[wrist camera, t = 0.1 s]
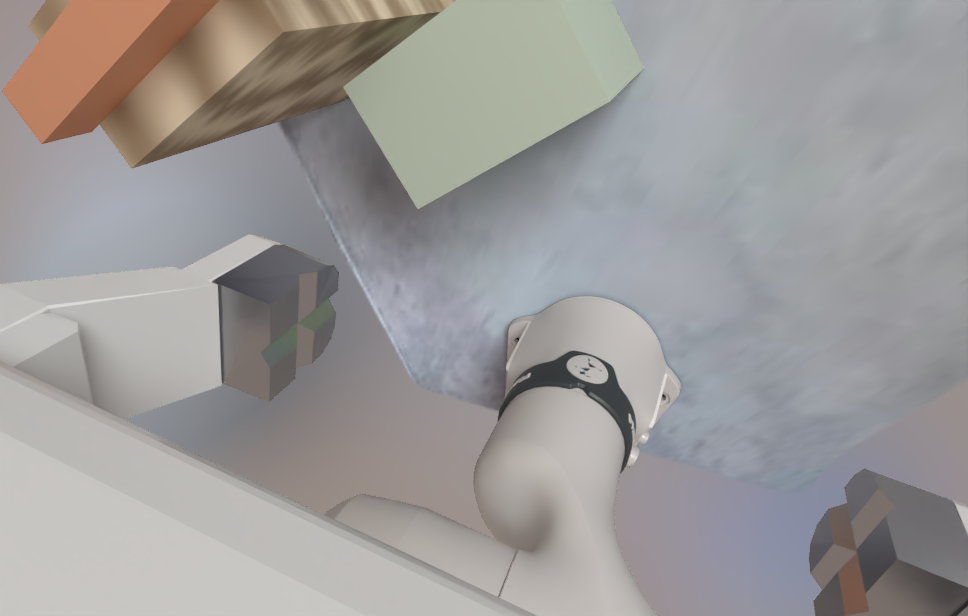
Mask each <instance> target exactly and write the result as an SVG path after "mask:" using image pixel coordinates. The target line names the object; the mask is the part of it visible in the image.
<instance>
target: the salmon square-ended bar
mask: <svg viewBox="0 0 968 616" xmlns="http://www.w3.org/2000/svg"><path fill="white" fill-rule="evenodd" d="M218 1H219V0H71V1H70V2H69V4H68V5H67V6H66V8H65V9H64V10H63V11H62V13H61V14H60V15H59V17H58V18H57V19H56V21H55V22H54V23H53V25H52V26H51V27H50V29H49V30H48V31H47V33H46V34H45V35H44V36H43V38H42V39H41V40H40V42H39V43H38V44H37V46H36V47H35V48H34V50H33V51H32V52H31V54H30V55H29V56H28V58H27V59H26V60H25V61H24V63H23V64H22V65H21V67H20V68H19V69H18V71H17V72H16V73H15V75H14V76H13V77H12V79H11V80H10V81H9V83H8V84H7V85H6V87H5V88H4V89H3V91H2V92H3V93H4V95H5V96H6V97H7V99H8V100H9V101H10V103H11V104H12V105H13V107H14V108H15V109H16V111H17V112H18V113H19V115H20V116H21V117H22V119H23V120H24V121H25V123H26V124H27V125H28V127H29V128H30V129H31V130H32V132H33V133H34V134H35V136H36V137H37V138H38V140H39V141H40V142H41V144H43V143H48V142H52V141H56V140H60V139H64V138H68V137H72V136H76V135H81V134H85V133H89V132H92V131H93V130H94V129H95V128H96V127H97V126H98V125H99V124H100V123H101V122H102V121H103V120H104V119H105V118H106V117H107V116H108V115H109V114H110V113H111V112H112V111H113V109H114V108H115V107H116V106H117V105H118V104H119V103H120V102H121V101H122V100H123V99H124V98H125V97H126V96H127V95H128V94H129V93H130V92H131V91H132V90H133V89H134V88H135V87H136V86H137V85H138V84H139V83H140V82H141V81H142V80H143V79H144V78H145V77H146V75H147V74H148V73H149V72H150V71H151V70H152V69H153V68H154V67H155V66H156V65H157V64H158V63H159V62H160V61H161V60H162V59H163V58H164V57H165V56H166V55H167V54H168V53H169V52H170V51H171V50H172V49H173V48H174V47H175V46H176V45H177V44H178V43H179V41H180V40H181V39H182V38H183V37H184V36H185V35H186V34H187V33H188V32H189V31H190V30H191V29H192V28H193V27H194V26H195V25H196V24H197V23H198V22H199V21H200V20H201V19H202V18H203V17H204V16H205V15H206V14H207V13H208V12H209V11H210V10H211V9H212V7H213V6H214V5H215V4H216V3H217V2H218Z"/></svg>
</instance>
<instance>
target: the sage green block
mask: <svg viewBox="0 0 968 616" xmlns="http://www.w3.org/2000/svg"><path fill="white" fill-rule="evenodd" d="M643 69H644V67H643V65H642V63H641V61H640V59H639V57H638V55H637V53H636V51H635V49H634V46H633V44H632V42H631V40H630V38H629V36H628V34H627V32H626V30H625V28H624V25H623V23H622V21H621V19H620V17H619V15H618V13H617V11H616V9H615V7H614V5H613V2H612V0H456V1H455V2H453V3H452V4H451V5H449V6H448V7H447V8H445V9H444V10H443V11H442V12H440V13H439V14H438V15H436V16H435V17H434V18H432V19H431V20H430V21H428V22H427V23H426V24H425V25H423V26H422V27H421V28H419V29H418V30H417V31H415V32H414V33H413V34H412V35H410V36H409V37H408V38H406V39H405V40H404V41H402V42H401V43H400V44H398V45H397V46H396V47H395V48H393V49H392V50H391V51H389V52H388V53H387V54H385V55H384V56H383V57H381V58H380V59H379V60H378V61H376V62H375V63H374V64H372V65H371V66H370V67H368V68H367V69H366V70H364V71H363V72H362V73H361V74H359V75H358V76H357V77H355V78H354V79H353V80H351V81H350V82H349V83H348V84H346V85H345V86H344V87H343V88H344V89H345V91H346V93H347V94H348V96H349V98H350V99H351V101H352V103H353V104H354V106H355V107H356V109H357V111H358V112H359V114H360V116H361V117H362V119H363V121H364V122H365V124H366V125H367V127H368V129H369V130H370V132H371V134H372V135H373V137H374V139H375V140H376V142H377V143H378V145H379V147H380V148H381V150H382V152H383V153H384V155H385V157H386V158H387V160H388V162H389V163H390V165H391V166H392V168H393V170H394V171H395V173H396V175H397V176H398V178H399V180H400V181H401V183H402V184H403V186H404V188H405V189H406V191H407V193H408V194H409V196H410V198H411V199H412V201H413V203H414V204H415V206H416V207H417V209H420V208H421V207H423V206H425V205H427V204H429V203H430V202H432V201H434V200H436V199H437V198H439V197H441V196H443V195H445V194H446V193H448V192H450V191H452V190H453V189H455V188H457V187H459V186H461V185H462V184H464V183H466V182H468V181H469V180H471V179H473V178H475V177H477V176H478V175H480V174H482V173H484V172H485V171H487V170H489V169H491V168H493V167H494V166H496V165H498V164H500V163H501V162H503V161H505V160H507V159H509V158H510V157H512V156H514V155H516V154H518V153H519V152H521V151H523V150H525V149H526V148H528V147H530V146H532V145H534V144H535V143H537V142H539V141H541V140H542V139H544V138H546V137H548V136H550V135H551V134H553V133H555V132H557V131H558V130H560V129H562V128H564V127H566V126H567V125H569V124H571V123H573V122H574V121H576V120H578V119H580V118H582V117H583V116H585V115H587V114H589V113H590V112H592V111H594V110H596V109H598V108H599V107H601V106H603V105H605V104H606V103H608V102H610V101H611V100H612V99H613V98H614V97H615V96H616V95H617V94H618V93H619V92H620V91H621V90H622V89H623V88H624V87H625V86H626V85H627V84H628V83H629V82H630V81H631V80H632V79H634V78H635V77H636V76H637V75H638V74H639V73H640V72H641V71H642V70H643Z"/></svg>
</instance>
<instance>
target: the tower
mask: <svg viewBox="0 0 968 616" xmlns="http://www.w3.org/2000/svg"><path fill="white" fill-rule="evenodd" d="M70 1H71V0H46V2H45V3H44V4H43V6H42V7H41V9H40V10H39V11H38V13H37V14H36V15H35V17H34V18H33V20H32V21H31V22H30V24H29V25H28V26H29V28H30V29H31V30H32V32H33V33H34V35H35V36H36V37H37V39H38V40H39V41H40V40H41V39H42V38H43V36H44V35H45V34H46V33H47V31H48V30H49V29H50V27H51V26H52V25H53V23H54V22H55V21H56V19H57V18H58V17H59V15H60V14H61V13H62V11H63V10H64V9H65V8H66V6H67V5H68V4H69V2H70ZM455 1H456V0H219V1H218V2H217V3H216V4H215V5H214V6H213V7H212V9H211V10H210V11H209V12H208V13H207V14H206V15H205V16H204V17H203V18H202V19H201V20H200V21H199V22H198V23H197V24H196V25H195V26H194V27H193V28H192V29H191V30H190V31H189V32H188V33H187V34H186V35H185V36H184V37H183V38H182V39H181V40H180V41H179V43H178V44H177V45H176V46H175V47H174V48H173V49H172V50H171V51H170V52H169V53H168V54H167V55H166V56H165V57H164V58H163V59H162V60H161V61H160V62H159V63H158V64H157V65H156V66H155V67H154V68H153V69H152V70H151V71H150V72H149V73H148V74H147V75H146V77H145V78H144V79H143V80H142V81H141V82H140V83H139V84H138V85H137V86H136V87H135V88H134V89H133V90H132V91H131V92H130V93H129V94H128V95H127V96H126V97H125V98H124V99H123V100H122V101H121V102H120V103H119V104H118V105H117V106H116V107H115V108H114V109H113V111H112V112H111V113H110V114H109V115H108V116H107V117H106V118H105V119H104V120H103V121H102V122H101V123H100V126H101V127H102V128H103V130H104V131H105V132H106V134H107V135H108V136H109V138H110V139H111V141H112V142H113V143H114V145H115V146H116V147H117V149H118V150H119V152H120V153H121V154H122V156H123V157H124V159H125V160H126V161H127V163H128V164H129V165H130V167H131V168H135V167H138V166H141V165H144V164H147V163H150V162H154V161H157V160H160V159H163V158H166V157H169V156H172V155H175V154H178V153H182V152H185V151H188V150H191V149H194V148H197V147H200V146H203V145H207V144H210V143H213V142H216V141H219V140H222V139H225V138H228V137H232V136H235V135H238V134H241V133H244V132H247V131H250V130H253V129H257V128H260V127H263V126H266V125H269V124H272V123H275V122H278V121H282V120H285V119H288V118H291V117H294V116H297V115H300V114H303V113H306V112H310V111H313V110H316V109H319V108H322V107H325V106H328V105H331V104H335V103H338V102H341V101H343V100H345V99H346V98H347V97H349V96H348V94H347V93H346V91H345V89H344V88H343V87H344V86H345V85H346V84H348V83H349V82H350V81H351V80H353V79H354V78H355V77H357V76H358V75H359V74H361V73H362V72H363V71H364V70H366V69H367V68H368V67H370V66H371V65H372V64H374V63H375V62H376V61H378V60H379V59H380V58H381V57H383V56H384V55H385V54H387V53H388V52H389V51H391V50H392V49H393V48H395V47H396V46H397V45H398V44H400V43H401V42H402V41H404V40H405V39H406V38H408V37H409V36H410V35H412V34H413V33H414V32H415V31H417V30H418V29H419V28H421V27H422V26H423V25H425V24H426V23H427V22H428V21H430V20H431V19H432V18H434V17H435V16H436V15H438V14H439V13H440V12H442V11H443V10H444V9H445V8H447V7H448V6H449V5H451V4H452V3H453V2H455Z"/></svg>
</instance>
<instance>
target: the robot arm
mask: <svg viewBox="0 0 968 616" xmlns="http://www.w3.org/2000/svg"><path fill="white" fill-rule="evenodd" d="M338 276H339V272H338V271H337V269H336V267H335V266H334V265H332V264H329V263H327V262H325V261H322V260H320V259H317V258H315V257H312V256H310V255H307V254H305V253H303V252H300V251H298V250H295V249H293V248H290V247H288V246H285V245H281V244H280V243H278V242H275V241H273V240H270V239H267V238H265V237H262V236H259V235H253V234H249V235H247V236H245V237H243V238H241V239H239V240H237V241H235V242H233V243H231V244H229V245H227V246H226V247H224V248H222V249H220V250H218V251H216V252H214V253H212V254H210V255H208V256H206V257H204V258H203V259H201V260H199V261H197V262H195V263H193V264H191V265H189V266H187V267H185V268H183V269H181V270H180V269H178V268H175V267H163V268H153V269H144V270H134V271H125V272H115V273H105V274H95V275H86V276H76V277H66V278H56V279H47V280H37V281H28V282H18V283H8V284H0V616H659V615H658V614H657V613H656V611H655V610H654V609H653V607H652V606H651V605H650V603H649V602H648V600H647V599H646V597H645V596H644V594H643V593H642V591H641V590H640V588H639V586H638V584H637V582H636V581H635V579H634V577H633V575H632V573H631V571H630V569H629V567H628V565H627V562H626V560H625V557H624V555H623V552H622V550H621V547H620V544H619V541H618V537H617V533H616V529H615V522H614V512H615V501H616V494H617V486H618V482H619V477H620V474H621V472H622V471H623V470H624V468H625V467H629V468H630V467H631V466H632V465H633V464H634V462H635V461H636V459H637V456H638V454H639V449H638V447H636V446H637V444H638V443H639V444H641V445H644V444H645V443H646V441H647V440H648V438H649V433H648V431H649V430H650V429H651V428H652V427H653V425H654V424H655V423H656V422H657V421H658V419H659V418H660V417H661V416H662V415H663V414H664V412H665V411H666V410H667V409H668V408H669V406H670V405H671V404H672V403H673V402H674V401H675V399H676V398H677V397H678V395H679V393H680V390H681V383H680V381H679V380H678V378H677V377H676V375H675V374H674V373H673V372H672V370H671V369H670V368H669V367H668V366H667V364H666V362H665V360H664V357H663V353H662V349H661V346H660V343H659V341H658V339H657V337H656V335H655V333H654V332H653V330H652V329H651V328H650V326H649V325H648V324H647V323H646V322H645V321H644V320H643V319H642V318H641V317H640V316H639V315H638V314H636V313H635V312H633V311H632V310H630V309H629V308H627V307H625V306H623V305H621V304H619V303H617V302H614V301H611V300H608V299H604V298H599V297H591V296H581V297H572V298H568V299H564V300H561V301H559V302H557V303H555V304H553V305H551V306H549V307H548V308H546V309H545V310H543V311H542V312H540V313H538V314H536V315H532V316H526V317H521V318H517V319H515V320H513V321H512V322H511V324H510V327H509V330H508V346H507V365H506V387H505V397H504V399H503V404H502V406H501V408H500V411H499V416H498V423H497V425H496V427H495V429H494V430H493V432H492V434H491V436H490V438H489V440H488V442H487V443H486V445H485V447H484V449H483V451H482V453H481V454H480V457H479V458H478V460H477V463H476V466H475V471H474V491H475V495H476V500H477V504H478V507H479V510H480V513H481V516H482V518H483V520H484V522H485V524H486V525H487V527H488V529H489V530H490V531H491V533H492V534H493V535H494V537H495V538H496V539H497V540H498V541H497V540H495V539H493V538H491V537H489V536H486V535H484V534H482V533H479V532H477V531H475V530H473V529H471V528H469V527H467V526H465V525H462V524H460V523H458V522H456V521H454V520H452V519H449V518H447V517H445V516H442V515H441V514H438V513H436V512H434V511H432V510H430V509H427V508H424V507H420V506H416V505H412V504H408V503H404V502H400V501H396V500H391V499H386V498H381V497H376V496H371V495H366V494H360V495H356V496H354V497H351V498H349V499H347V500H345V501H343V502H341V503H339V504H337V505H336V506H335V507H333V508H332V509H330V510H329V511H327V512H326V513H325V514H322V513H320V512H317V511H315V510H313V509H311V508H309V507H307V506H305V505H303V504H301V503H299V502H296V501H294V500H292V499H290V498H288V497H286V496H284V495H281V494H279V493H277V492H275V491H273V490H271V489H269V488H267V487H265V486H263V485H260V484H258V483H256V482H254V481H252V480H250V479H248V478H246V477H243V476H241V475H239V474H237V473H235V472H233V471H231V470H229V469H227V468H225V467H222V466H220V465H218V464H216V463H214V462H212V461H210V460H208V459H205V458H203V457H201V456H199V455H197V454H195V453H193V452H191V451H188V450H186V449H184V448H182V447H180V446H178V445H176V444H174V443H172V442H170V441H168V440H165V439H164V438H161V437H159V436H157V435H155V434H153V433H151V432H149V431H147V430H145V429H143V428H140V427H138V426H136V425H134V424H132V423H130V422H128V421H126V420H124V419H125V418H128V417H131V416H134V415H137V414H140V413H143V412H146V411H149V410H151V409H154V408H157V407H160V406H163V405H166V404H169V403H172V402H175V401H178V400H181V399H184V398H186V397H190V396H193V395H196V394H199V393H202V392H204V391H207V390H210V389H213V388H216V387H219V386H221V385H222V383H224V384H226V385H228V386H231V387H233V388H236V389H238V390H241V391H243V392H246V393H248V394H251V395H253V396H255V397H258V398H260V399H263V400H265V401H268V402H270V401H271V400H272V399H273V398H274V397H275V396H276V395H278V394H279V393H280V392H281V391H282V390H283V389H284V388H285V387H287V386H288V385H289V384H290V383H291V382H292V381H293V380H294V379H295V375H296V367H299V366H303V365H308V364H311V363H313V362H314V361H315V360H316V359H317V358H318V357H319V356H320V355H321V354H322V353H323V351H324V350H325V348H326V346H327V345H328V343H329V341H330V340H331V337H332V334H333V330H334V327H335V319H336V312H335V310H334V308H333V306H332V304H331V302H330V300H329V298H330V297H331V296H332V295H333V294H334V293H335V292H336V291H338V278H339V277H338ZM517 338H520V339H519V341H518V340H517ZM662 394H664V395H665V397H662ZM845 493H846V499H847V503H846V504H843V505H840V506H836V507H833V508H830V509H828V510H827V511H826V513H825V514H824V516H823V517H822V519H821V520H820V522H819V523H818V524H817V527H816V529H815V532H814V535H813V538H812V541H811V544H810V553H809V563H810V573H811V575H812V576H813V578H814V579H815V580H816V582H817V583H818V584H819V586H820V587H821V589H822V591H821V592H820V594H819V595H818V596H817V597H816V599H815V600H814V609H815V616H968V505H966V504H963V503H960V502H957V501H954V500H952V499H949V498H946V497H945V498H944V497H941V496H938V495H936V494H933V493H930V492H927V491H925V490H922V489H919V488H916V487H913V486H911V485H908V484H905V483H903V482H900V481H897V480H894V479H892V478H889V477H886V476H883V475H881V474H877V473H875V472H872V471H870V470H867V469H863V470H861V471H860V472H858V473H857V474H855V475H854V476H853V478H852V479H851V480H850V481H849V482H848V484H847V485H846V486H845ZM512 561H513V562H514V563H513V566H512V568H511V571H510V573H509V576H508V579H507V581H506V584H505V586H504V589H503V591H502V594H501V597H500V598H499V595H500V592H501V590H502V588H503V585H504V582H505V580H506V577H507V574H508V572H509V569H510V567H511V564H512Z"/></svg>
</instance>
